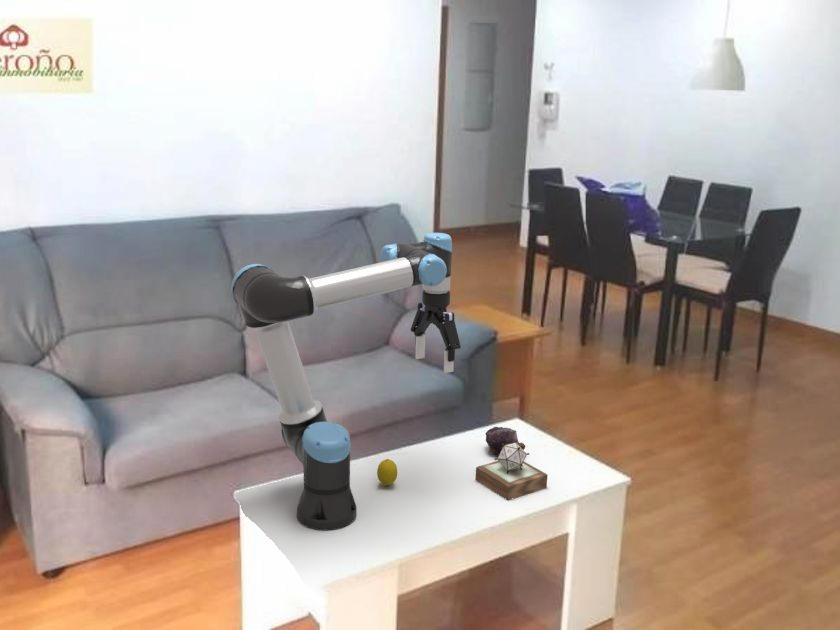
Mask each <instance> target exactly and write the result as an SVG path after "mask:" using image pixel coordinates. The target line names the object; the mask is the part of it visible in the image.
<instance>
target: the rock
mask: <svg viewBox="0 0 840 630" xmlns="http://www.w3.org/2000/svg"><path fill="white" fill-rule="evenodd" d="M516 440H517V444H518V445H519V446H520V447H521V448H522V449H523V450H524V451H525V448H526V445H525V444H524V443H523V442H520V441H519V439H518V434H517V430H515V429H512V428H511V427H503V426H499V427H498V426H493V427H492V428H489V429H488V430H487V431H486V432H485V442H486V443H487V446H488V447H489V449H490V451H491V453H492V454H494V455H496V456H497V457H498V456H499V454H500V452H501V450H502V449H501V447H503V445H502V443H503V444H504V445H507V444H511V443H515V441H516Z"/></svg>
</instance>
